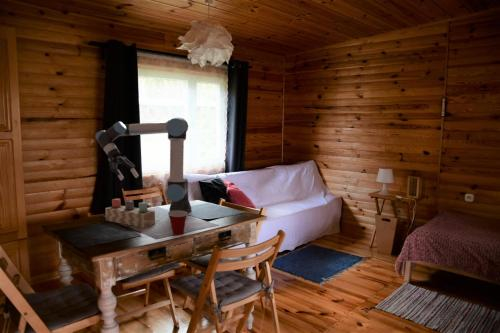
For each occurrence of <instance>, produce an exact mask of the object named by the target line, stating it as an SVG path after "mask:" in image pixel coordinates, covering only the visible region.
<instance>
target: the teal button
mask: <svg viewBox="0 0 500 333" xmlns="http://www.w3.org/2000/svg"><path fill="white" fill-rule="evenodd" d="M138 208H139V212H147V211H148V210H149V209H148V202H146V201H145V202H138Z"/></svg>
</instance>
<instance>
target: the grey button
mask: <svg viewBox="0 0 500 333" xmlns="http://www.w3.org/2000/svg"><path fill="white" fill-rule="evenodd" d="M124 206H125V210H133V209H134V208H135V206H134V200H124Z"/></svg>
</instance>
